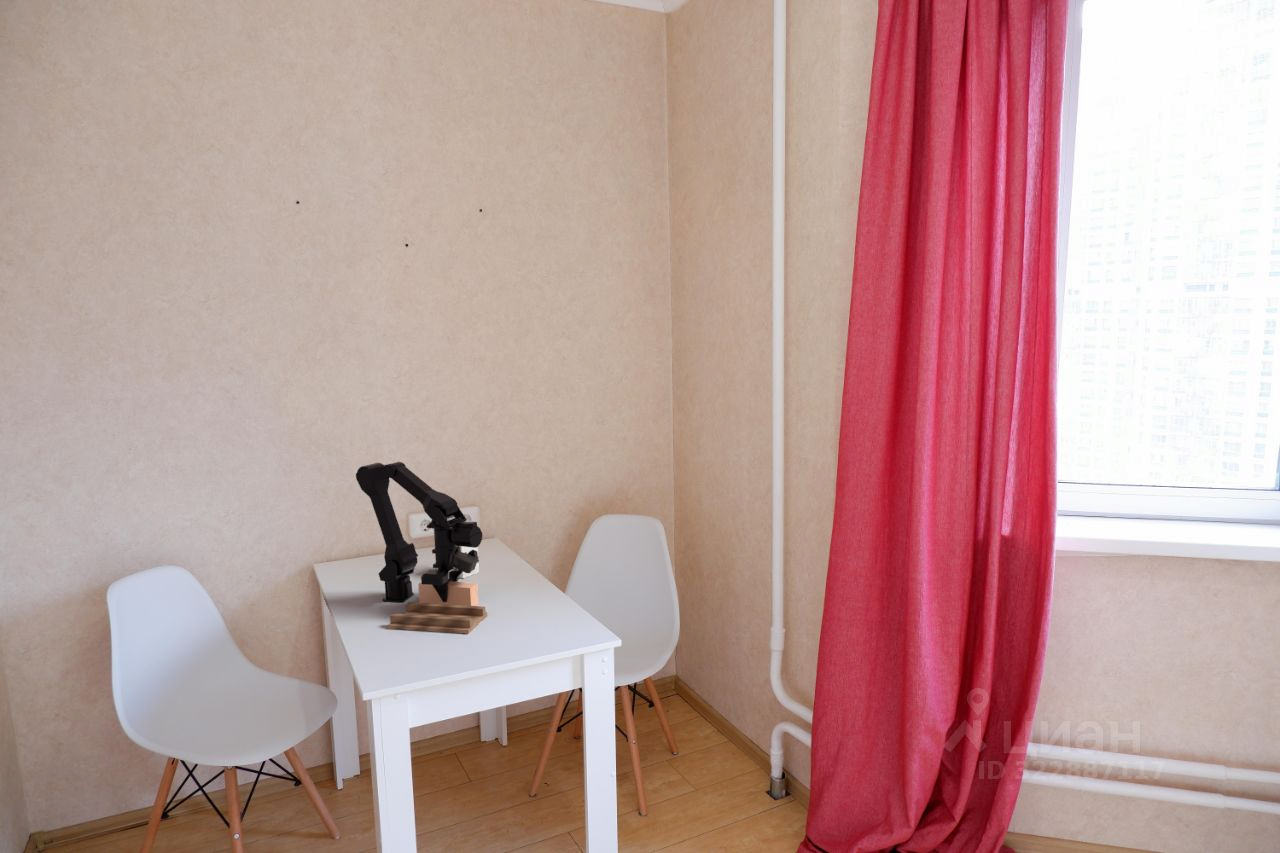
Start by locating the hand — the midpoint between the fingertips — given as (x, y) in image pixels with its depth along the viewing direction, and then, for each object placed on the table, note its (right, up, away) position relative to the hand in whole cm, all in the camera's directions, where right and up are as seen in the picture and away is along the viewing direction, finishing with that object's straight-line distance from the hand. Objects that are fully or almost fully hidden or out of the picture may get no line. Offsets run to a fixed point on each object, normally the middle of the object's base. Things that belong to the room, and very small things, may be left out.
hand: (448, 599), depth 208 cm
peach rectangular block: (0, -2, 0) cm, 2 cm away
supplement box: (-2, +1, +27) cm, 27 cm away
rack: (0, -3, -12) cm, 12 cm away
